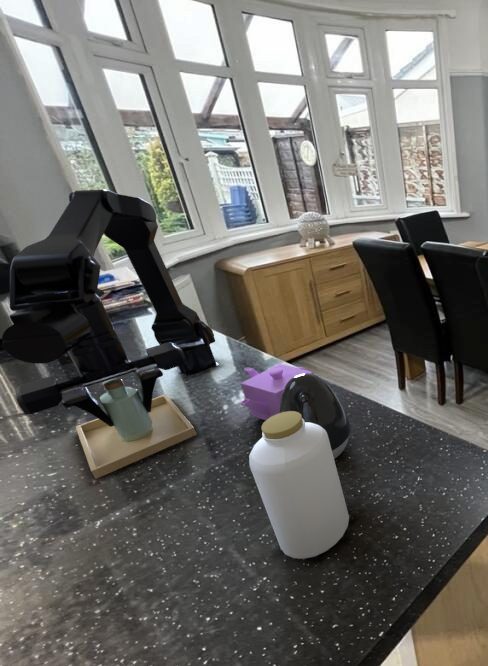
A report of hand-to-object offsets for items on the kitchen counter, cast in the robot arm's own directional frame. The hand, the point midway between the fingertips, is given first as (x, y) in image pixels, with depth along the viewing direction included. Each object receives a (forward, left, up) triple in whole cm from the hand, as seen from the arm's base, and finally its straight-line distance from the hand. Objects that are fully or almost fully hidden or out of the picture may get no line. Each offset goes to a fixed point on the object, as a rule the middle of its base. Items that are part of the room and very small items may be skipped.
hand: (131, 418), depth 66 cm
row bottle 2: (0, -5, -6) cm, 8 cm away
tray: (0, -5, -6) cm, 8 cm away
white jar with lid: (-10, +41, -6) cm, 42 cm away
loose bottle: (0, 0, -2) cm, 2 cm away
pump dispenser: (-18, +27, -6) cm, 33 cm away
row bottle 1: (0, -11, -6) cm, 12 cm away
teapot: (-19, +11, -6) cm, 23 cm away
